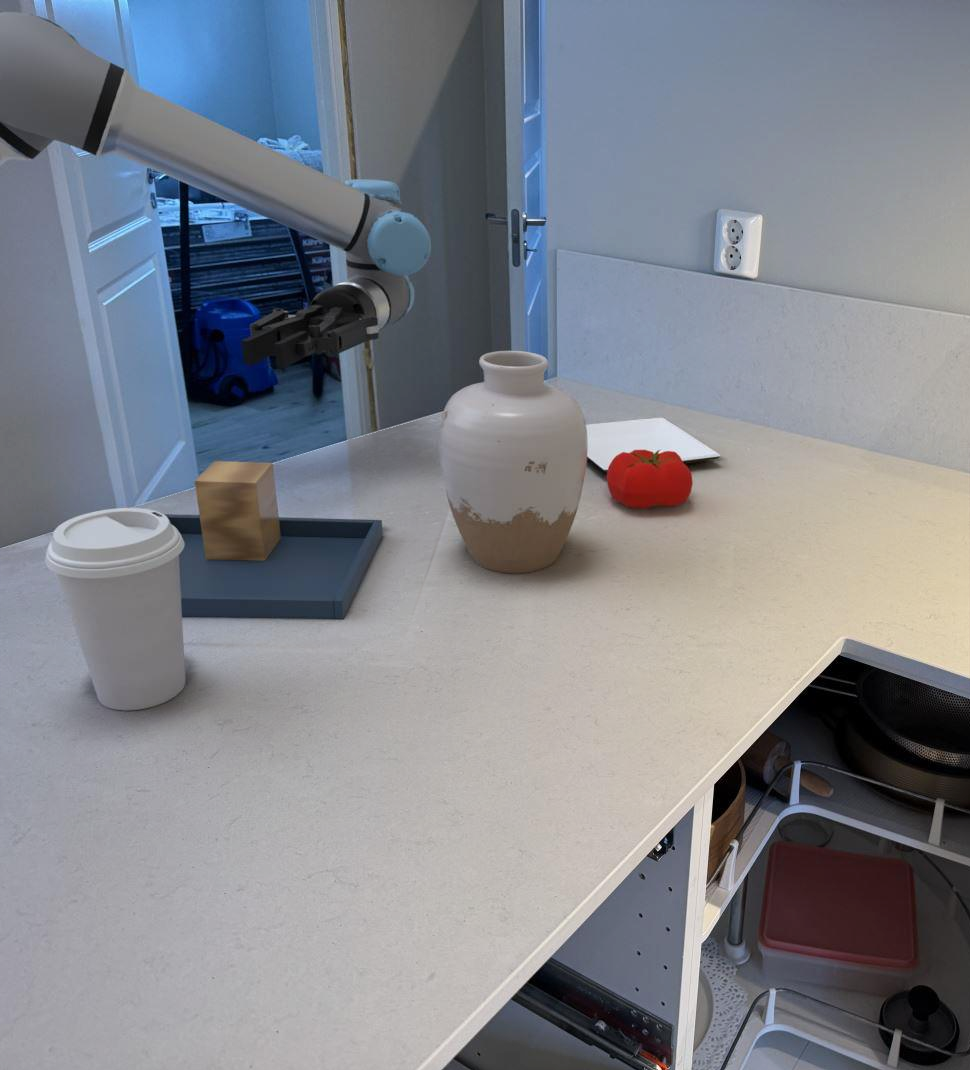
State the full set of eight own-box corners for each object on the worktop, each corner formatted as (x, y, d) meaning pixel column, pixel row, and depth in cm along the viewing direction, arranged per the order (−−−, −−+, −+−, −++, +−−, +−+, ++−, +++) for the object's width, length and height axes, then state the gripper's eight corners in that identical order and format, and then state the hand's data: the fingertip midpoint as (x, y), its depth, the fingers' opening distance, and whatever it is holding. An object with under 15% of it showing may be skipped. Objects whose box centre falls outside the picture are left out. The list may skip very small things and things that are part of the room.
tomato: (699, 514, 128) (703, 466, 125) (617, 519, 124) (619, 471, 122) (676, 486, 136) (679, 441, 134) (598, 491, 133) (600, 445, 130)
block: (205, 559, 105) (194, 480, 101) (224, 536, 110) (214, 460, 107) (265, 561, 106) (255, 482, 102) (281, 537, 111) (272, 462, 107)
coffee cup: (215, 702, 83) (190, 539, 77) (81, 734, 78) (43, 562, 72) (195, 649, 90) (171, 496, 84) (71, 675, 85) (36, 515, 79)
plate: (603, 482, 136) (604, 468, 135) (553, 440, 150) (553, 427, 149) (720, 467, 145) (722, 454, 144) (662, 429, 159) (663, 416, 158)
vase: (516, 516, 123) (515, 333, 114) (613, 554, 115) (620, 362, 106) (413, 555, 111) (402, 354, 102) (513, 601, 103) (511, 388, 94)
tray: (83, 619, 93) (78, 596, 92) (165, 534, 111) (162, 513, 110) (343, 623, 96) (341, 600, 95) (383, 539, 114) (381, 519, 113)
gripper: (411, 346, 131) (337, 394, 109) (291, 335, 131) (195, 381, 110) (408, 289, 128) (331, 327, 106) (286, 278, 128) (185, 313, 107)
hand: (262, 354), depth 108 cm, fingers open, 3 cm apart
